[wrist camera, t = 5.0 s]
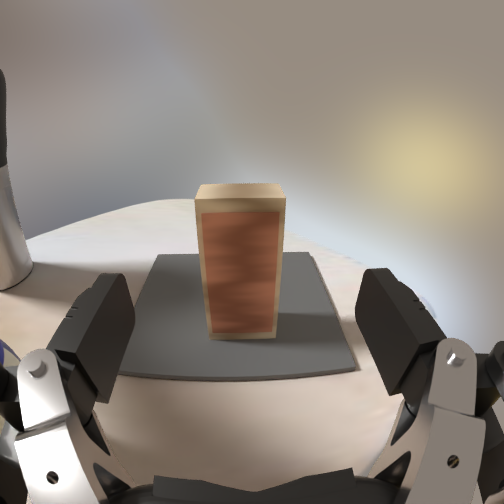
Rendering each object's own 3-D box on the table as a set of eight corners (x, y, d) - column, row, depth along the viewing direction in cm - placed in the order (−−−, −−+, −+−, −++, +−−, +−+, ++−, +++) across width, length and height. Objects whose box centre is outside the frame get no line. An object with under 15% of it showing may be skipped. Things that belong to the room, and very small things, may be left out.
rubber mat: (113, 373, 20) (110, 369, 20) (158, 258, 38) (158, 254, 38) (354, 370, 21) (355, 366, 21) (308, 255, 39) (308, 251, 39)
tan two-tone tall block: (209, 340, 24) (194, 199, 18) (211, 313, 27) (201, 184, 21) (275, 339, 24) (286, 198, 18) (271, 312, 28) (278, 183, 21)
